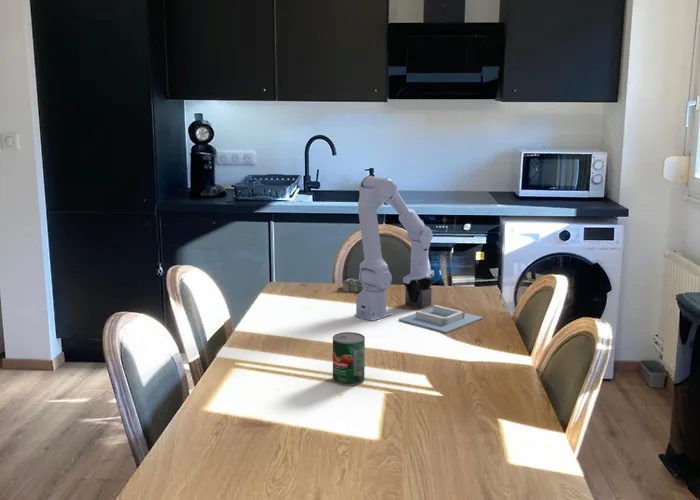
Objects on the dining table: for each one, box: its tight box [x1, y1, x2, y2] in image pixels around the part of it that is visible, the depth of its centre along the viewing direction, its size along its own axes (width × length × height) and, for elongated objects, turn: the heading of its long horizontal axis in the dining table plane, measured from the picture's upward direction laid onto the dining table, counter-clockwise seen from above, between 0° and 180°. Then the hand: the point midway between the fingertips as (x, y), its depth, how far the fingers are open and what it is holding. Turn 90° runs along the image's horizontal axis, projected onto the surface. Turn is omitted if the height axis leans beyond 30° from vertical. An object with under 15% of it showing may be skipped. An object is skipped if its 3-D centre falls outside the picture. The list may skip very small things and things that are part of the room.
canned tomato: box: [332, 331, 366, 387], centre depth 177 cm, size 8×8×11 cm
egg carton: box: [342, 277, 364, 293], centre depth 261 cm, size 11×8×4 cm
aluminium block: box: [404, 286, 432, 310], centre depth 241 cm, size 5×7×6 cm
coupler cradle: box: [398, 304, 484, 334], centre depth 226 cm, size 20×18×2 cm
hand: (418, 300), depth 242 cm, fingers closed on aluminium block, 5 cm apart
